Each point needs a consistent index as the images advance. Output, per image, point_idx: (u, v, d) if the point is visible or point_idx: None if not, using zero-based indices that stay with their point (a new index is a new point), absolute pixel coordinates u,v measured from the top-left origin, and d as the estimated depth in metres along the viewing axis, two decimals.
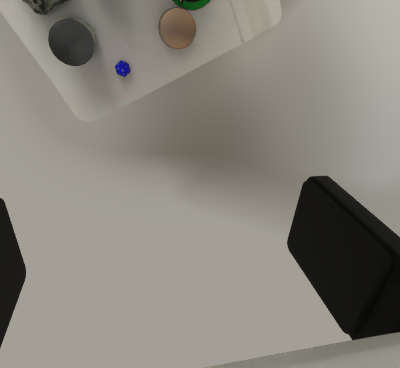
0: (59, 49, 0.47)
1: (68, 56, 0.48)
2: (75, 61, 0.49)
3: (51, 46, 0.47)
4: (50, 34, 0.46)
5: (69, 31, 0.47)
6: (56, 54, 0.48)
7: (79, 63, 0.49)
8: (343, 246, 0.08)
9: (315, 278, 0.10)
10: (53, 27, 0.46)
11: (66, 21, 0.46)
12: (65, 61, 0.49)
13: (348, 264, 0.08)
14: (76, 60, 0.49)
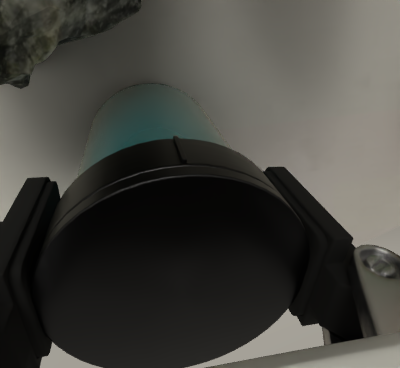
0: (104, 330, 0.07)
1: (154, 345, 0.08)
2: (187, 355, 0.09)
3: (52, 327, 0.07)
4: (45, 274, 0.06)
5: (183, 240, 0.06)
6: (84, 351, 0.08)
7: (206, 357, 0.09)
8: None
9: None
10: (67, 232, 0.06)
11: (174, 187, 0.06)
12: (133, 366, 0.08)
13: None
14: (194, 350, 0.09)
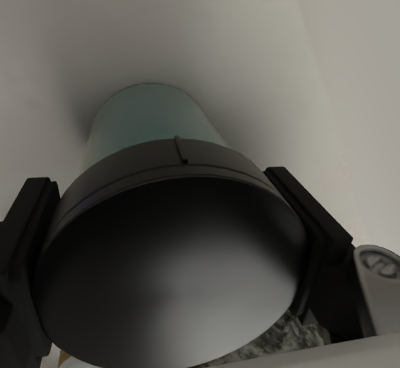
0: (104, 330, 0.07)
1: (154, 346, 0.08)
2: (187, 355, 0.09)
3: (52, 327, 0.07)
4: (45, 274, 0.06)
5: (184, 240, 0.06)
6: (83, 352, 0.08)
7: (206, 357, 0.09)
8: None
9: None
10: (68, 233, 0.06)
11: (175, 186, 0.06)
12: (133, 366, 0.08)
13: None
14: (193, 351, 0.09)
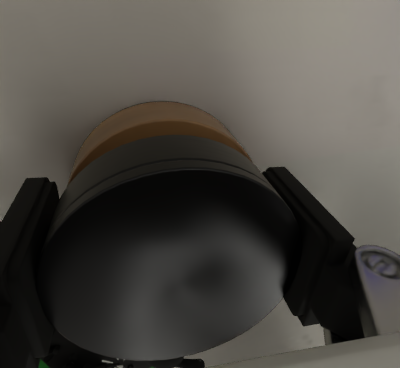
0: (256, 249, 0.08)
1: (214, 222, 0.07)
2: (174, 197, 0.06)
3: (293, 256, 0.08)
4: (275, 299, 0.09)
5: (179, 326, 0.08)
6: (283, 223, 0.07)
7: (145, 186, 0.06)
8: None
9: None
10: (251, 324, 0.09)
11: (185, 352, 0.09)
12: (243, 191, 0.07)
13: None
14: (165, 204, 0.06)
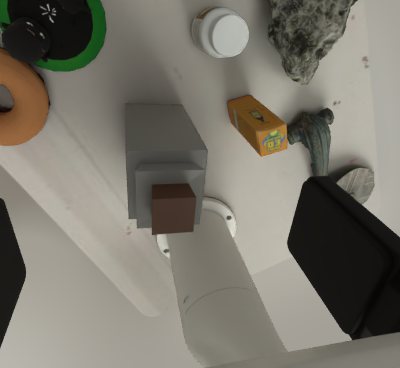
0: None
1: None
2: None
3: None
4: None
5: None
6: None
7: None
8: (343, 246, 0.08)
9: (315, 278, 0.10)
10: None
11: None
12: None
13: (348, 264, 0.08)
14: None
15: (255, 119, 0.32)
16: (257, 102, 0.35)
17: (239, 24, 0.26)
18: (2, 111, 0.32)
